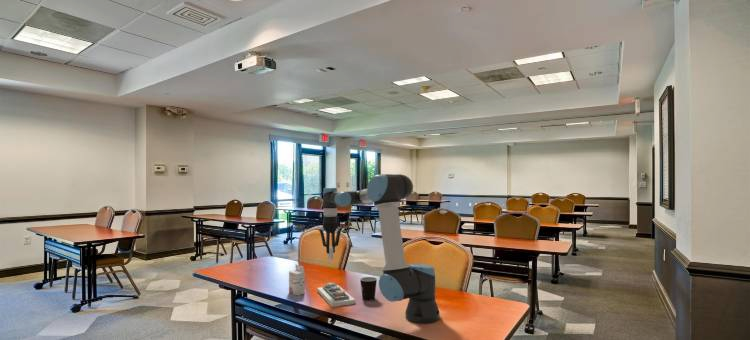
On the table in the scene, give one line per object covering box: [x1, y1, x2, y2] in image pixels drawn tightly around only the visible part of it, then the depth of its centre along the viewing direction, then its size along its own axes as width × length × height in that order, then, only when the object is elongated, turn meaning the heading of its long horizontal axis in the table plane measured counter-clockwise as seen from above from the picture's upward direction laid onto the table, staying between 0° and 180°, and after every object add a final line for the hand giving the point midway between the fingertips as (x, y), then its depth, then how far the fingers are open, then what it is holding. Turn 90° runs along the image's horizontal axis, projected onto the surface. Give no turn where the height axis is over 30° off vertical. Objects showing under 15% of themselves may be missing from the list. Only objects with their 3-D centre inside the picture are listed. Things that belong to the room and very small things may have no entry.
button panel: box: [316, 284, 356, 308], centre depth 200 cm, size 28×12×3 cm, turn 23°
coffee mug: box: [359, 276, 378, 301], centre depth 199 cm, size 12×9×10 cm
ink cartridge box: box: [288, 264, 306, 296], centre depth 208 cm, size 9×5×15 cm, turn 47°
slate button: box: [330, 286, 341, 292], centre depth 200 cm, size 5×5×2 cm
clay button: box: [335, 289, 346, 296], centre depth 193 cm, size 5×5×2 cm
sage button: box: [325, 282, 337, 288], centre depth 207 cm, size 5×5×2 cm
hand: (330, 259), depth 208 cm, fingers closed
